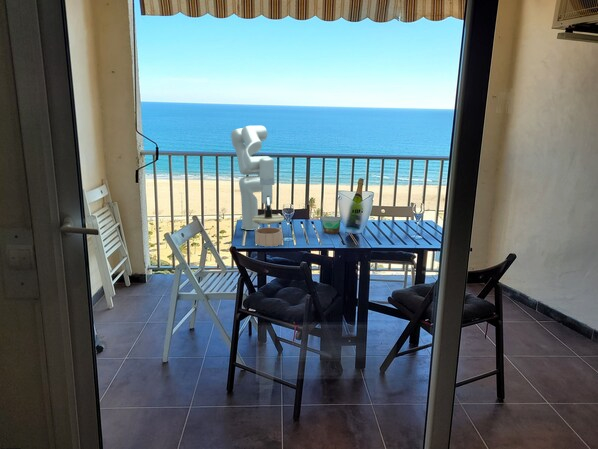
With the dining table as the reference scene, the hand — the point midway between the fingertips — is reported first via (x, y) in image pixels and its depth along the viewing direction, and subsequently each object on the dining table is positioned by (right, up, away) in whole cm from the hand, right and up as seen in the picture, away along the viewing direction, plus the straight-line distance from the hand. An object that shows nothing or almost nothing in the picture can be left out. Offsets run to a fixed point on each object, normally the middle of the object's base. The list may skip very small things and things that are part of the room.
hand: (268, 215), depth 233 cm
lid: (0, -2, +1) cm, 2 cm away
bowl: (0, -15, +4) cm, 15 cm away
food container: (+35, -10, +22) cm, 43 cm away
